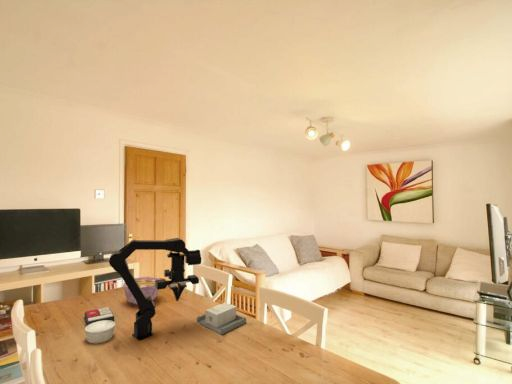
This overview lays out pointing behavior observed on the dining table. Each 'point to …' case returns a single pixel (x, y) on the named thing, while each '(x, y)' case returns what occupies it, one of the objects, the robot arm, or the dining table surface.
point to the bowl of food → (143, 288)
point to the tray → (225, 327)
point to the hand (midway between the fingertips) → (177, 300)
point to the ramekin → (99, 331)
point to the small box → (220, 315)
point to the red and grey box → (98, 315)
